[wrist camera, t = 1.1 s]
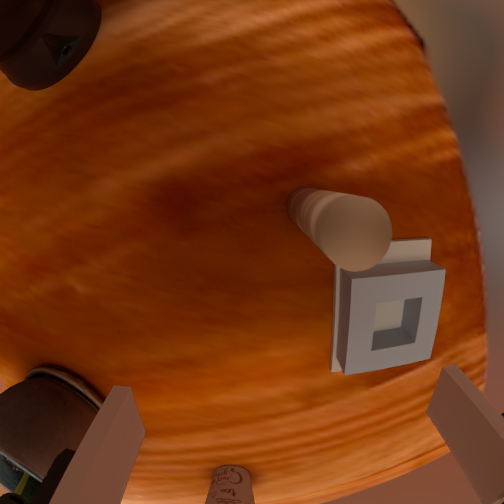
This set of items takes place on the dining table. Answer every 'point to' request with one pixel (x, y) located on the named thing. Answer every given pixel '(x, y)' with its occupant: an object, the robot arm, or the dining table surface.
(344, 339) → the socket
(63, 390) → the potted plant
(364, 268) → the peg
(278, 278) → the dining table surface
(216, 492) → the mug
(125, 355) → the dining table surface
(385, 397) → the dining table surface
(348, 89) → the dining table surface
